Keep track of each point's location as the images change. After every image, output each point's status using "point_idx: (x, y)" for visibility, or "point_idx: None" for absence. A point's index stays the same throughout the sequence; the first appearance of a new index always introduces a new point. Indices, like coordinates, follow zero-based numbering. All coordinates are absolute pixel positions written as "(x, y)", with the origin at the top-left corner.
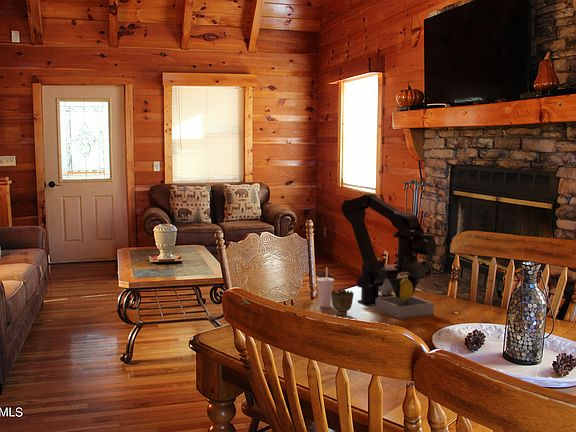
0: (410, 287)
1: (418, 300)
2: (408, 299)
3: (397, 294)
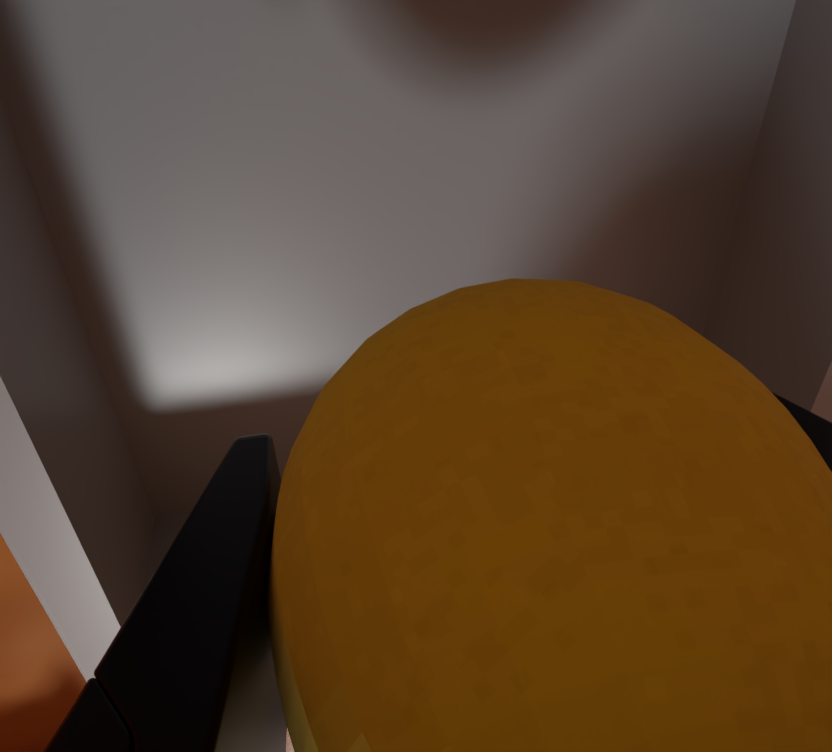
0: (587, 517)
1: (21, 378)
2: (135, 575)
3: (800, 420)
